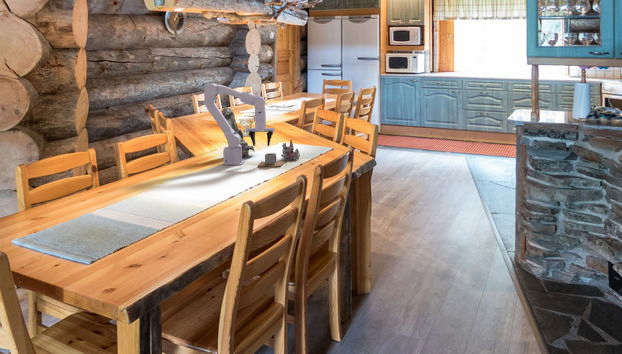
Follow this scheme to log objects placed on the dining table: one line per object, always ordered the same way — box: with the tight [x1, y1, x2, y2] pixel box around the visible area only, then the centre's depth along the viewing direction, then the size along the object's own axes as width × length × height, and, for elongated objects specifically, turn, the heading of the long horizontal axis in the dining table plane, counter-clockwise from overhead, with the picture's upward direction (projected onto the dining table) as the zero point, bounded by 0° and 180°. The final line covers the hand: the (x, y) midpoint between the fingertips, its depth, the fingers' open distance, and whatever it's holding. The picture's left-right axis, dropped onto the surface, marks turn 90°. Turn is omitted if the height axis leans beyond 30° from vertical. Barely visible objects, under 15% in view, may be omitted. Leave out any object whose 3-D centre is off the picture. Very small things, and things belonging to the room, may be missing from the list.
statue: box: [220, 106, 256, 157], centre depth 321 cm, size 16×18×30 cm
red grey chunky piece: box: [280, 139, 301, 161], centre depth 311 cm, size 11×11×12 cm
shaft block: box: [257, 161, 285, 168], centre depth 296 cm, size 12×10×4 cm
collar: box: [264, 152, 277, 165], centre depth 295 cm, size 5×5×5 cm
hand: (261, 145), depth 301 cm, fingers open, 7 cm apart
